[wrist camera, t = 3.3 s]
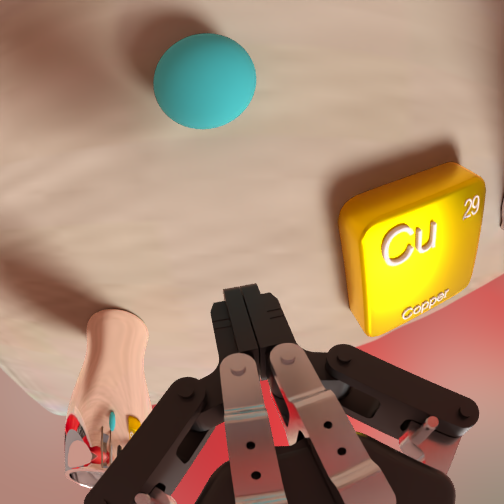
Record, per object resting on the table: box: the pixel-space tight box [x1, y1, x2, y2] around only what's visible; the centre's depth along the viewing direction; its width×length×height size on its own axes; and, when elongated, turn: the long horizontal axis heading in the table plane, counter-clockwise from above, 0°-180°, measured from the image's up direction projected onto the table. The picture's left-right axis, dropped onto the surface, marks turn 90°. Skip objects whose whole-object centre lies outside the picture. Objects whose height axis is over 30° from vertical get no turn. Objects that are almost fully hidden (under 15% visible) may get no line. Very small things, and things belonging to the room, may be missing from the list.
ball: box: [153, 33, 256, 129], centre depth 15 cm, size 6×6×6 cm
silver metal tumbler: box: [64, 309, 152, 489], centre depth 21 cm, size 7×7×15 cm
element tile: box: [338, 162, 486, 337], centre depth 28 cm, size 15×15×5 cm
